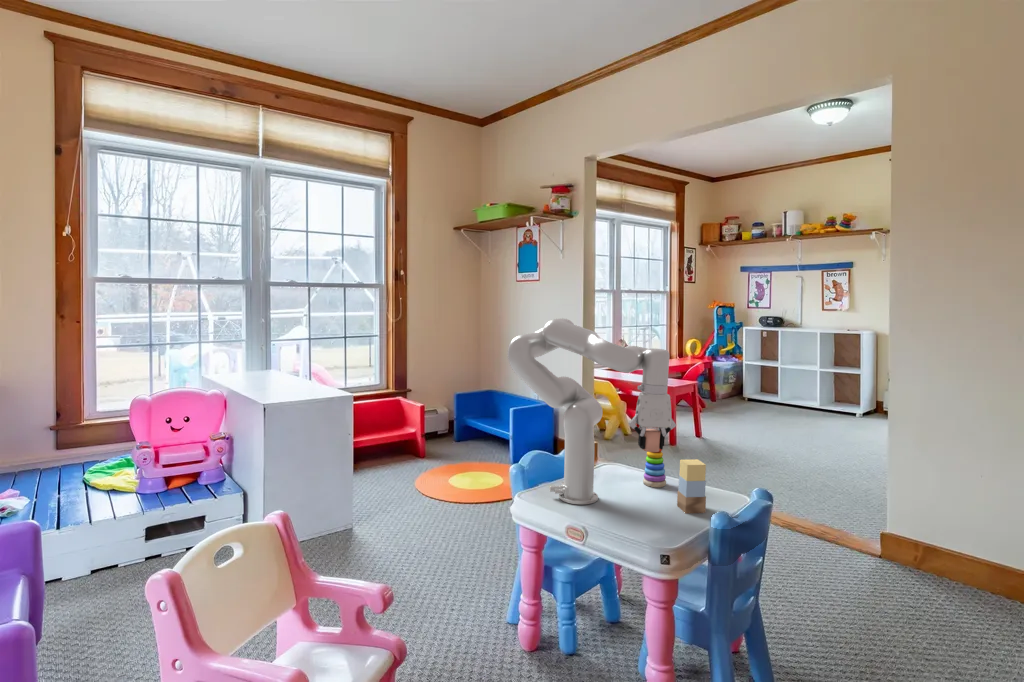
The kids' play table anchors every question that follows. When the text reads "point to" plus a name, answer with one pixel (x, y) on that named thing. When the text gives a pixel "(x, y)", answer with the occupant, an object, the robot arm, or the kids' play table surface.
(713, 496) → the kids' play table surface
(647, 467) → the stacking toy
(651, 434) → the cylinder
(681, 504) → the tower base
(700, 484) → the tower mid
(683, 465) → the tower top
